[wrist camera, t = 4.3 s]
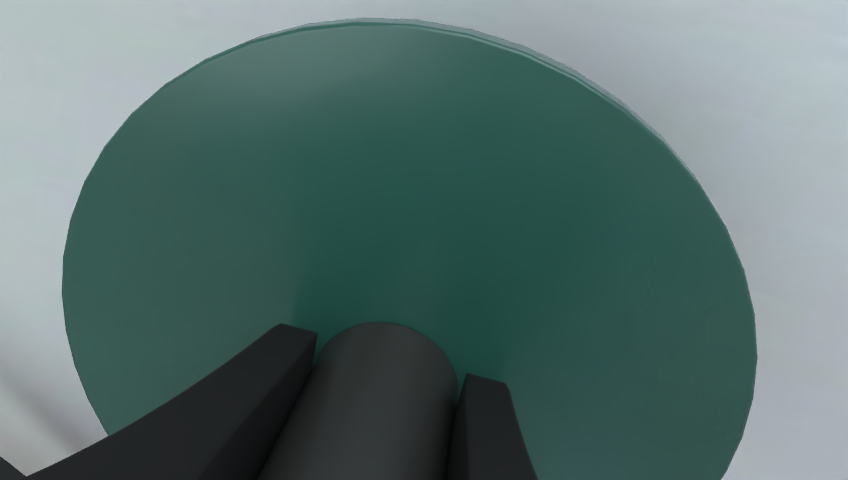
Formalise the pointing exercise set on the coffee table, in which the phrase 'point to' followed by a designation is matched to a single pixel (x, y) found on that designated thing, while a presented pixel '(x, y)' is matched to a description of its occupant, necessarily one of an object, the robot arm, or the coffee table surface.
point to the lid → (414, 257)
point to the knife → (9, 471)
